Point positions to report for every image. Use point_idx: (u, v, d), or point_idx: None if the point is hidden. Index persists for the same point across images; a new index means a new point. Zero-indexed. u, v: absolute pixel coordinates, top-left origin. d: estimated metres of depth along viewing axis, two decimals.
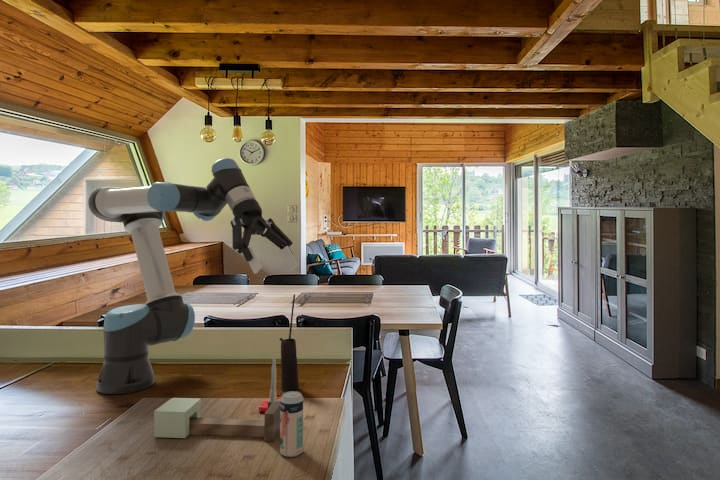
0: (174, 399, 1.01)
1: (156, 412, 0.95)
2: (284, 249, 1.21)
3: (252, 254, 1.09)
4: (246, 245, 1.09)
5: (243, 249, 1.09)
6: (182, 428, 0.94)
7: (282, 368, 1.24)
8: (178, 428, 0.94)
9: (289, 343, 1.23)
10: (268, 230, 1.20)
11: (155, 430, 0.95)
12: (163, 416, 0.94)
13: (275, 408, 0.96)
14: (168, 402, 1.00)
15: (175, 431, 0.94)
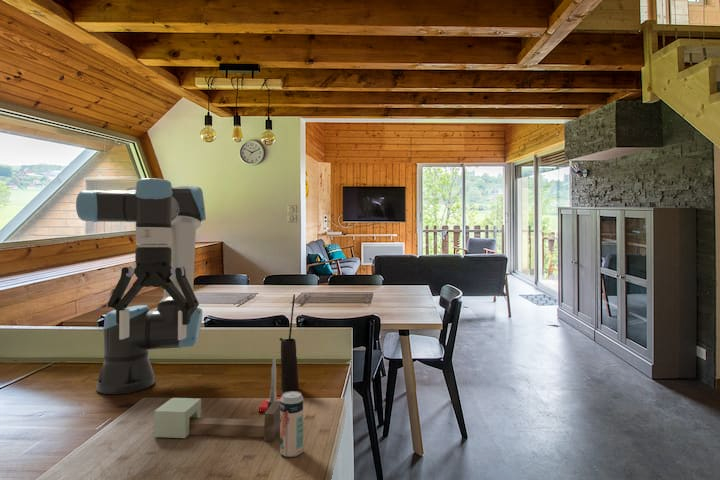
0: (174, 399, 1.01)
1: (156, 412, 0.95)
2: None
3: None
4: (116, 308, 0.98)
5: None
6: (182, 428, 0.94)
7: (282, 368, 1.24)
8: (178, 428, 0.94)
9: (289, 343, 1.23)
10: None
11: (155, 430, 0.95)
12: (163, 416, 0.94)
13: (275, 408, 0.96)
14: (168, 402, 1.00)
15: (175, 431, 0.94)
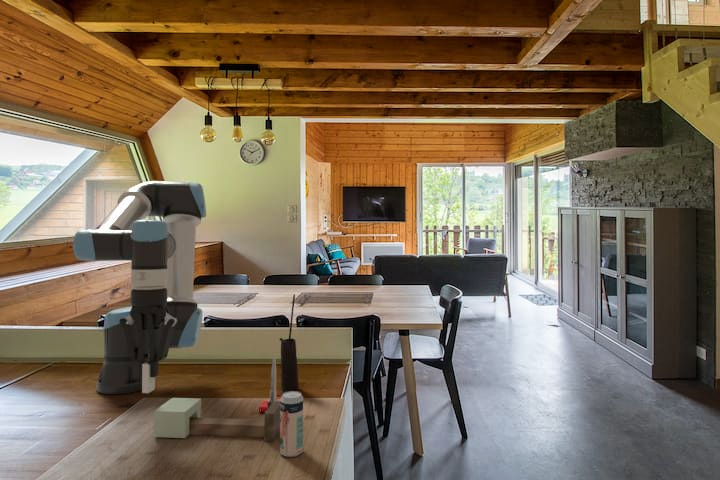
0: (174, 399, 1.01)
1: (156, 412, 0.95)
2: None
3: None
4: (140, 362, 0.97)
5: None
6: (182, 428, 0.94)
7: (282, 368, 1.24)
8: (178, 428, 0.94)
9: (289, 343, 1.23)
10: None
11: (155, 430, 0.95)
12: (163, 416, 0.94)
13: (275, 408, 0.96)
14: (168, 402, 1.00)
15: (175, 431, 0.94)
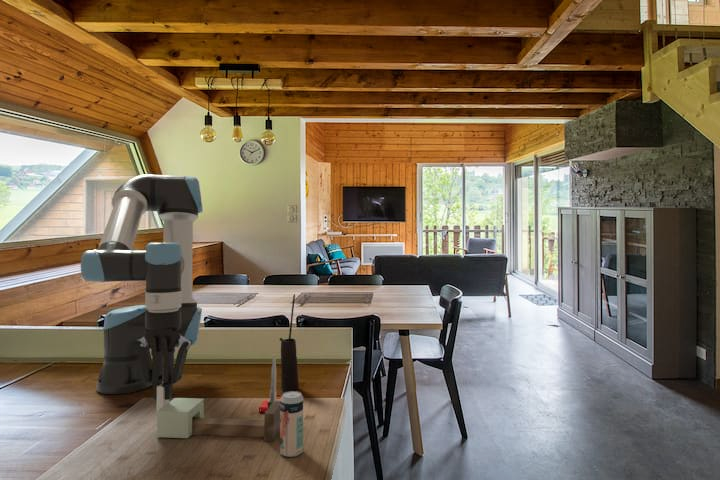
0: (177, 399, 1.01)
1: (159, 412, 0.95)
2: None
3: None
4: (154, 384, 0.97)
5: None
6: (185, 429, 0.94)
7: (282, 368, 1.24)
8: (181, 428, 0.94)
9: (289, 343, 1.23)
10: None
11: (158, 430, 0.95)
12: (166, 416, 0.94)
13: (275, 408, 0.96)
14: (171, 402, 1.00)
15: (178, 431, 0.94)
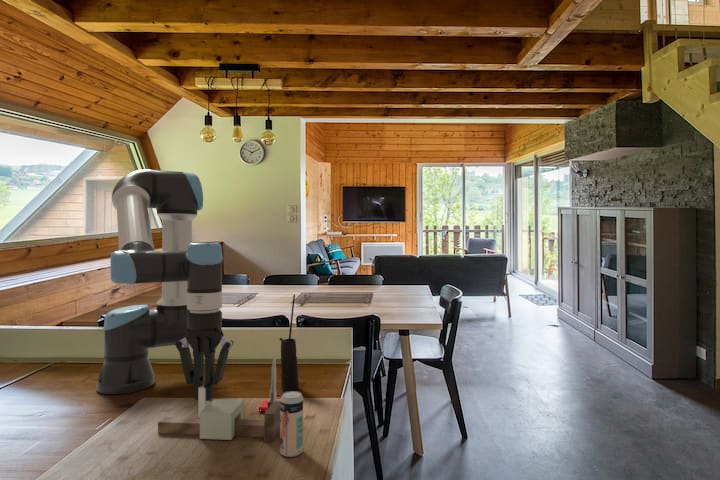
0: (217, 400, 1.01)
1: (202, 413, 0.94)
2: None
3: None
4: (196, 385, 0.97)
5: None
6: (228, 430, 0.94)
7: (282, 368, 1.24)
8: (224, 429, 0.94)
9: (289, 343, 1.23)
10: None
11: (201, 432, 0.94)
12: (209, 418, 0.94)
13: (275, 408, 0.96)
14: (212, 403, 0.99)
15: (221, 433, 0.94)
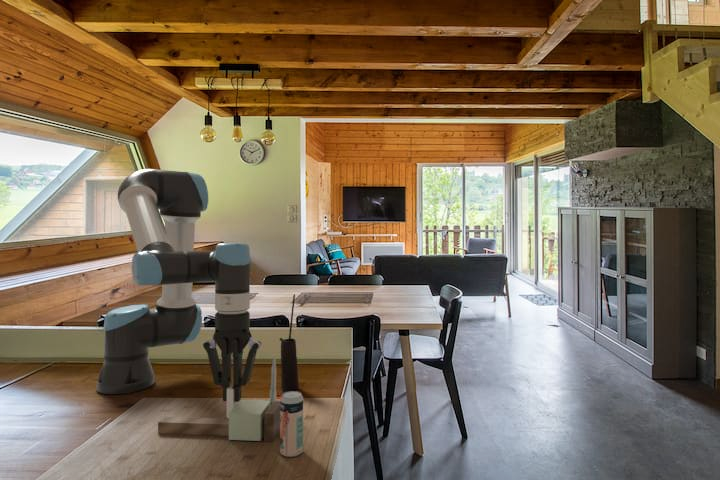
0: (244, 401, 1.00)
1: (231, 414, 0.94)
2: None
3: (227, 398, 0.96)
4: (224, 386, 0.96)
5: None
6: (257, 431, 0.93)
7: (282, 368, 1.24)
8: (253, 430, 0.93)
9: (289, 343, 1.23)
10: None
11: (230, 433, 0.93)
12: (238, 419, 0.93)
13: (275, 408, 0.96)
14: (239, 404, 0.99)
15: (250, 434, 0.93)
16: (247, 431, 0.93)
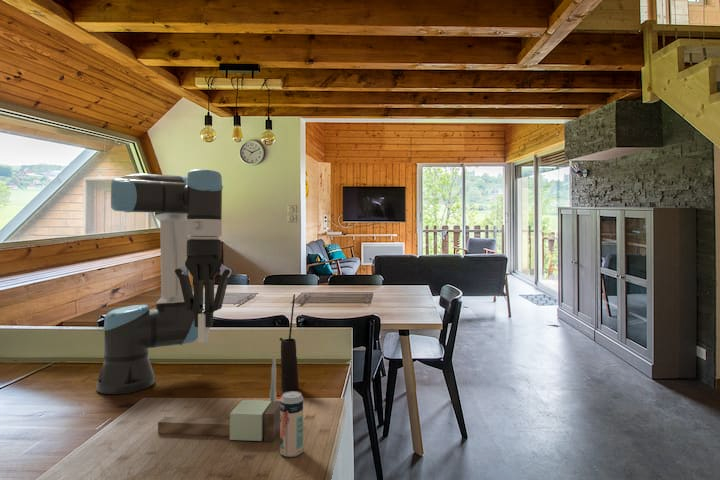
0: (245, 401, 1.00)
1: (232, 414, 0.93)
2: None
3: None
4: (196, 312, 0.98)
5: None
6: (258, 431, 0.93)
7: (282, 368, 1.24)
8: (254, 430, 0.93)
9: (289, 343, 1.23)
10: None
11: (231, 433, 0.93)
12: (239, 419, 0.93)
13: (275, 408, 0.96)
14: (240, 404, 0.99)
15: (251, 434, 0.93)
16: (248, 431, 0.93)
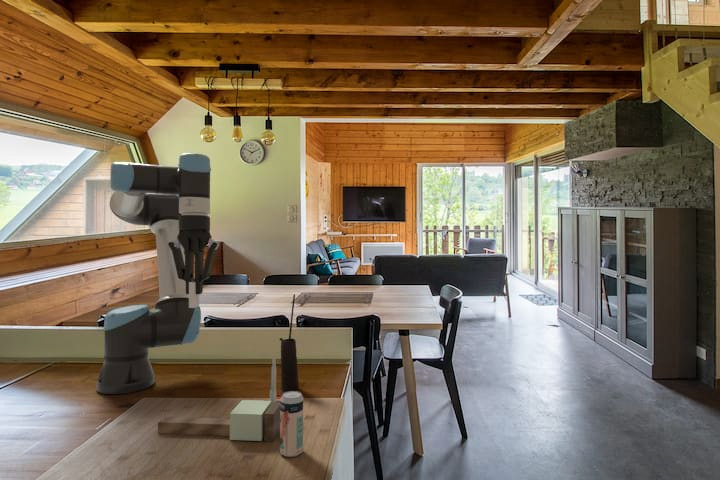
0: (245, 401, 1.00)
1: (232, 414, 0.93)
2: None
3: (189, 290, 1.09)
4: (187, 280, 1.09)
5: None
6: (258, 431, 0.93)
7: (282, 368, 1.24)
8: (254, 430, 0.93)
9: (289, 343, 1.23)
10: None
11: (231, 433, 0.93)
12: (239, 419, 0.93)
13: (275, 408, 0.96)
14: (240, 404, 0.99)
15: (251, 434, 0.93)
16: (248, 431, 0.93)
